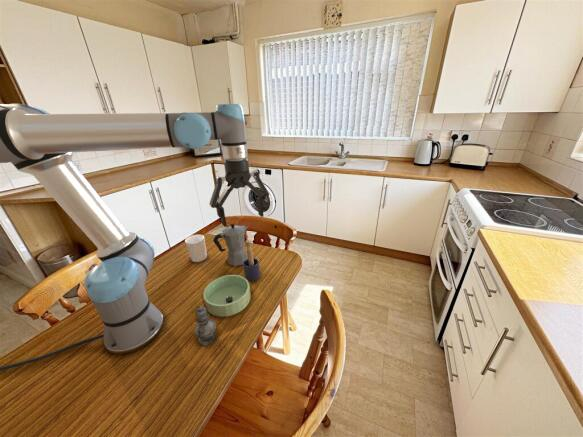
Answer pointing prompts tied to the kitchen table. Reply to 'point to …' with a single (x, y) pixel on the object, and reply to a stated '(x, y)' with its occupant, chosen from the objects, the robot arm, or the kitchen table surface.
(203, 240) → the white cup
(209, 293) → the bowl
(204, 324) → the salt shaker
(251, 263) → the stirring stick
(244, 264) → the utensil pot
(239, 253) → the coffeepot
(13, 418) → the kitchen table surface
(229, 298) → the bead
